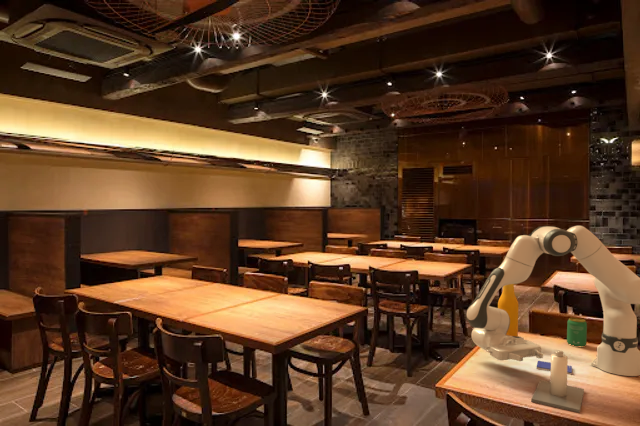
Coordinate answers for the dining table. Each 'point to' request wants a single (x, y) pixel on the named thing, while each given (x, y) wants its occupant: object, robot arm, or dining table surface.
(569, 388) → the slate board
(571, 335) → the beverage can
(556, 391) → the salt mill
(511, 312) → the beer bottle
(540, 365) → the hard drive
